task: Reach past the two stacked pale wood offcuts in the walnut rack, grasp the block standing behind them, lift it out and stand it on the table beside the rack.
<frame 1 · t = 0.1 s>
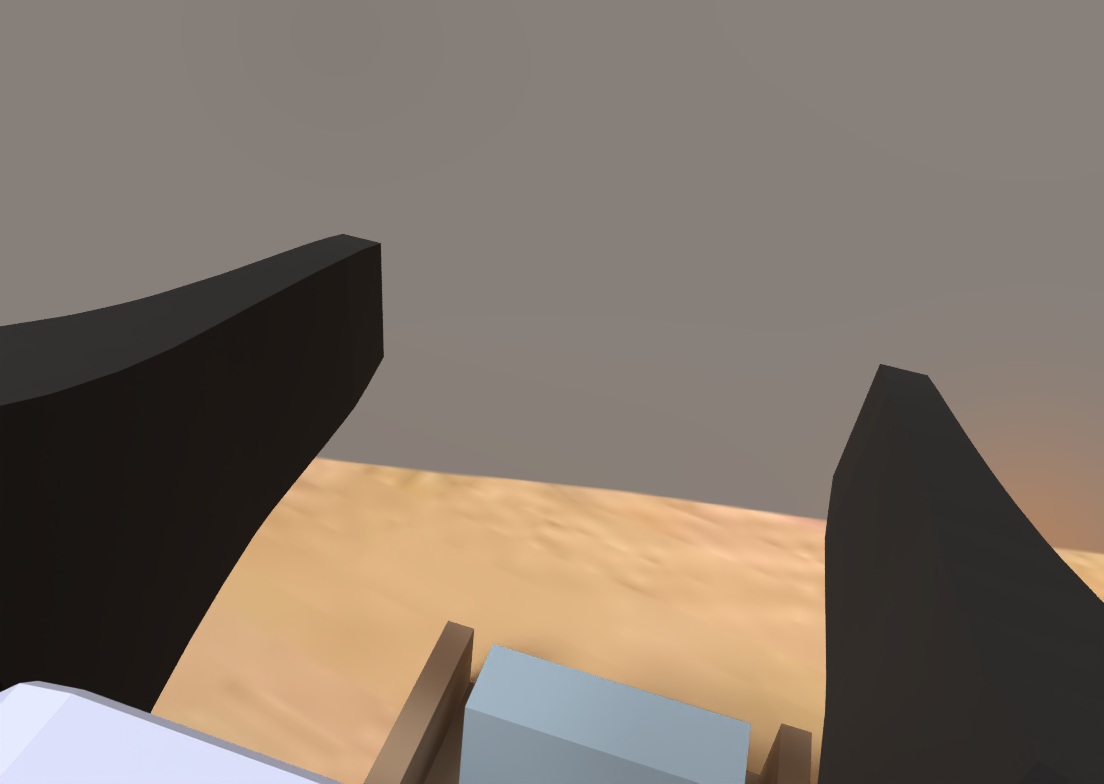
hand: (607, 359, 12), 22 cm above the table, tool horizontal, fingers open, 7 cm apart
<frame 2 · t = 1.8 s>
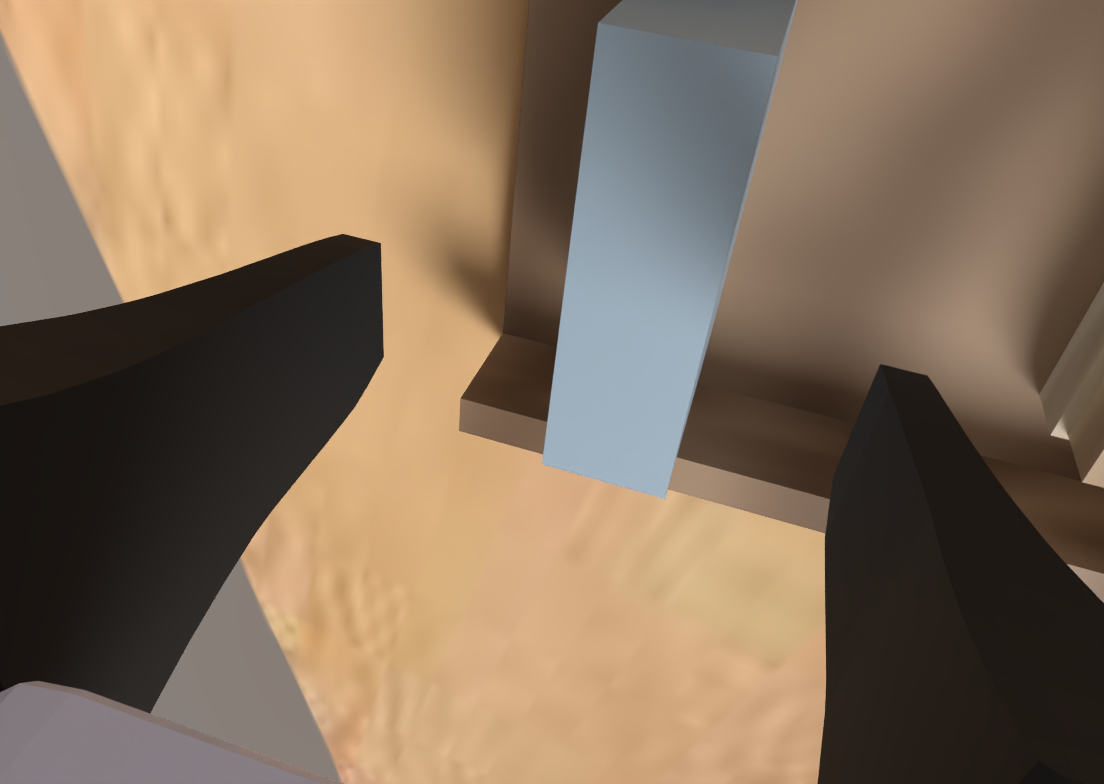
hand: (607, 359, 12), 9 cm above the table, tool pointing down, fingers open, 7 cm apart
block: (696, 165, 18), point 1 cm above the table, touching rack
rack: (934, 201, 18), on the table
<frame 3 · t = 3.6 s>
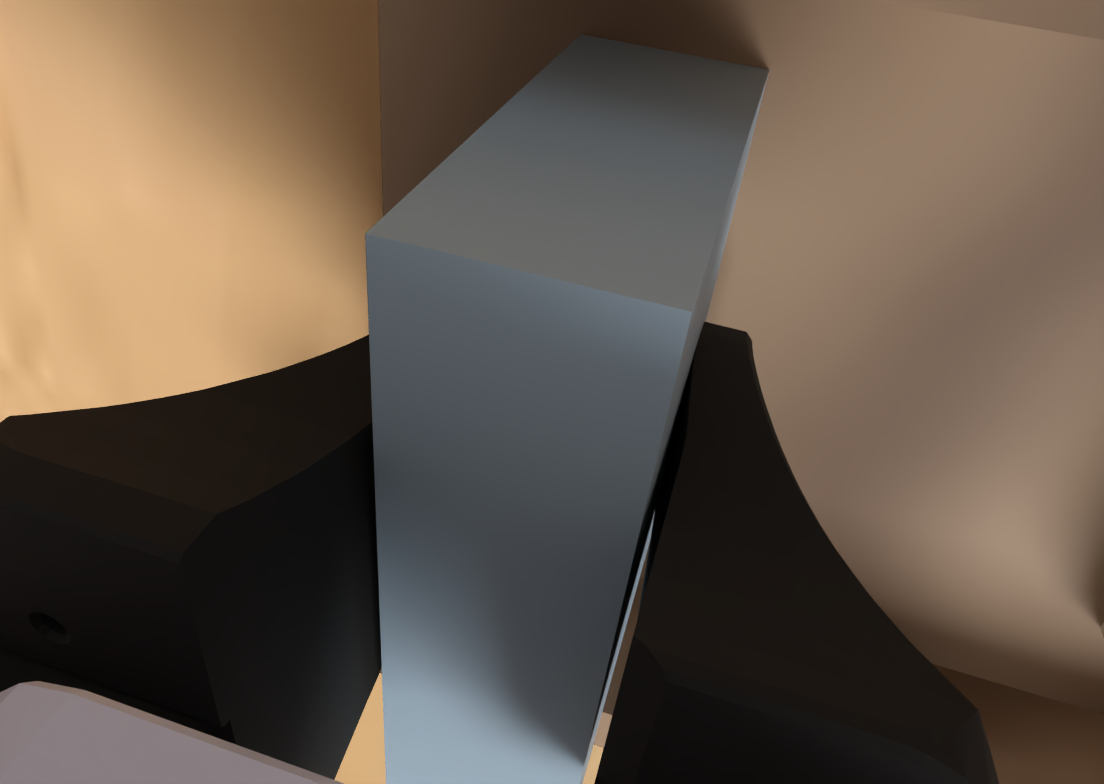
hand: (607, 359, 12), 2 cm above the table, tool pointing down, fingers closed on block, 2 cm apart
block: (624, 320, 13), point 1 cm above the table, touching gripper, rack
rack: (957, 373, 13), on the table
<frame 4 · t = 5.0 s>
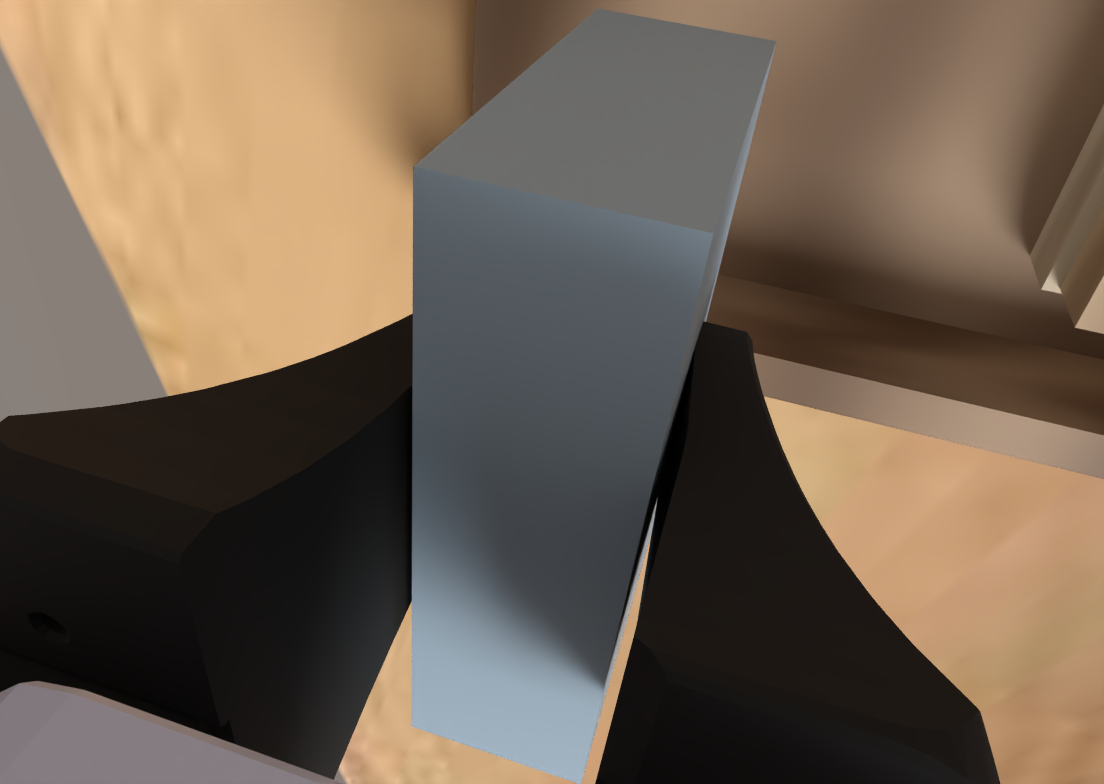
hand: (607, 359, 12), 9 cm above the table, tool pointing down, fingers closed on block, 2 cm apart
block: (636, 287, 14), point 7 cm above the table, touching gripper
rack: (914, 44, 17), on the table
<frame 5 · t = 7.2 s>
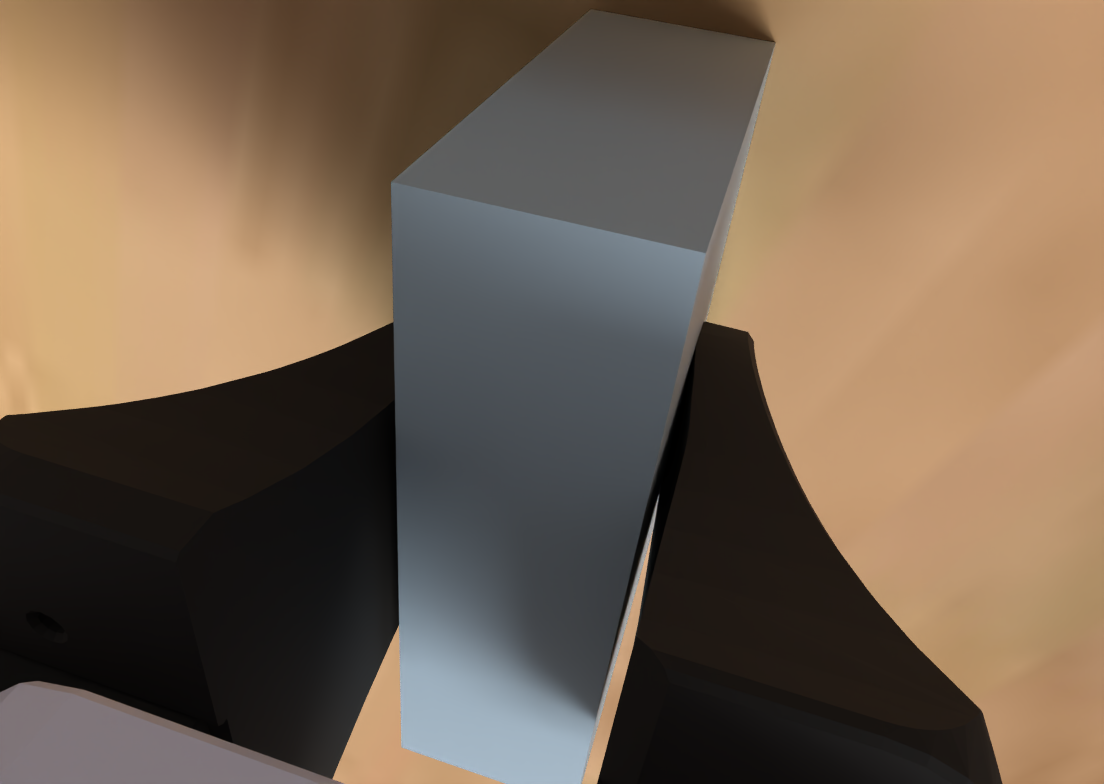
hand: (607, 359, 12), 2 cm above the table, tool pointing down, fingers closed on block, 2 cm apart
block: (632, 294, 13), on the table, touching gripper
when the fingers open (2 cm above the table, at t = 7.8 s): block stays where it is, on the table.
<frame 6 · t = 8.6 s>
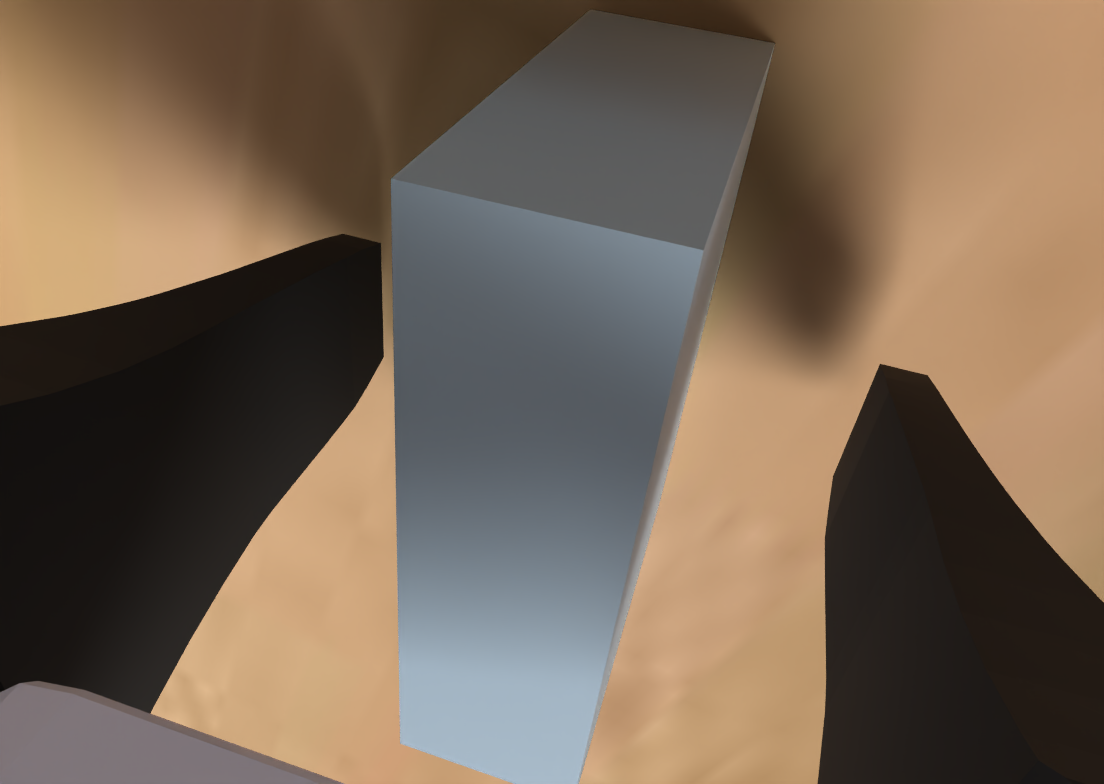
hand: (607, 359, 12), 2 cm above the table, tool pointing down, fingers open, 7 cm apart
block: (632, 293, 13), on the table
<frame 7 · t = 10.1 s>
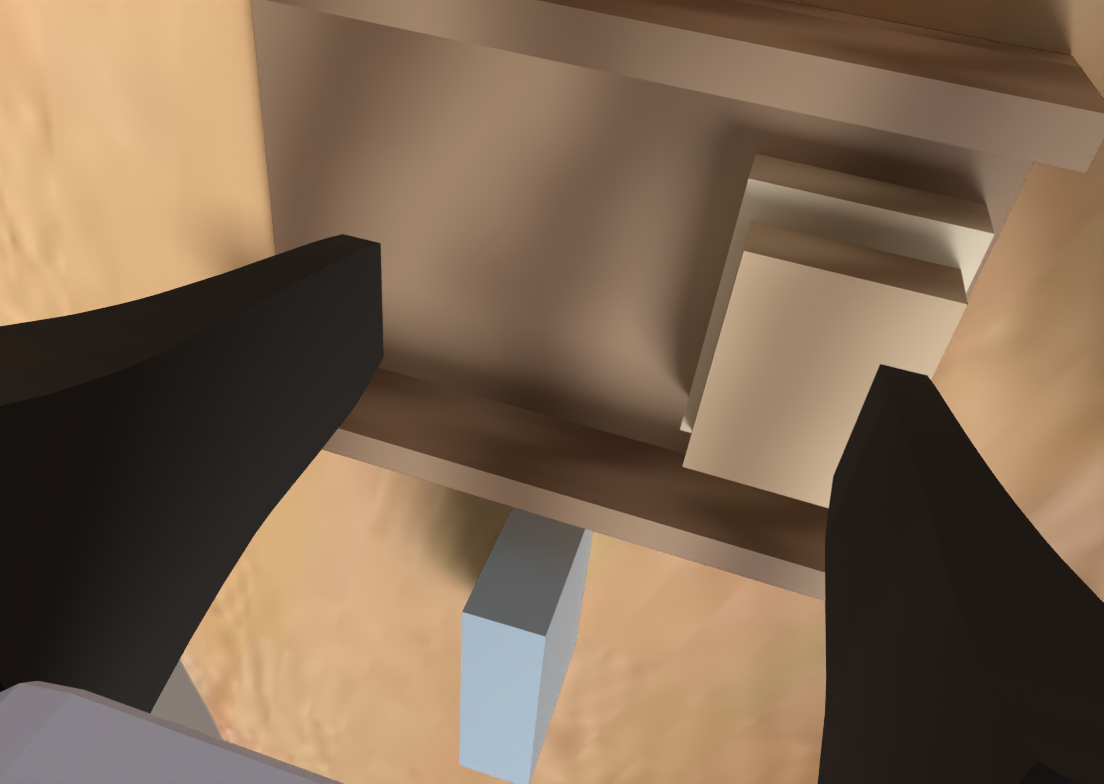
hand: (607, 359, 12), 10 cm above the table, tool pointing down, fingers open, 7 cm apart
block: (554, 563, 30), on the table
offcut low: (819, 312, 21), point 1 cm above the table, touching offcut top, rack
rack: (592, 241, 22), on the table
offcut top: (811, 358, 20), point 2 cm above the table, touching offcut low
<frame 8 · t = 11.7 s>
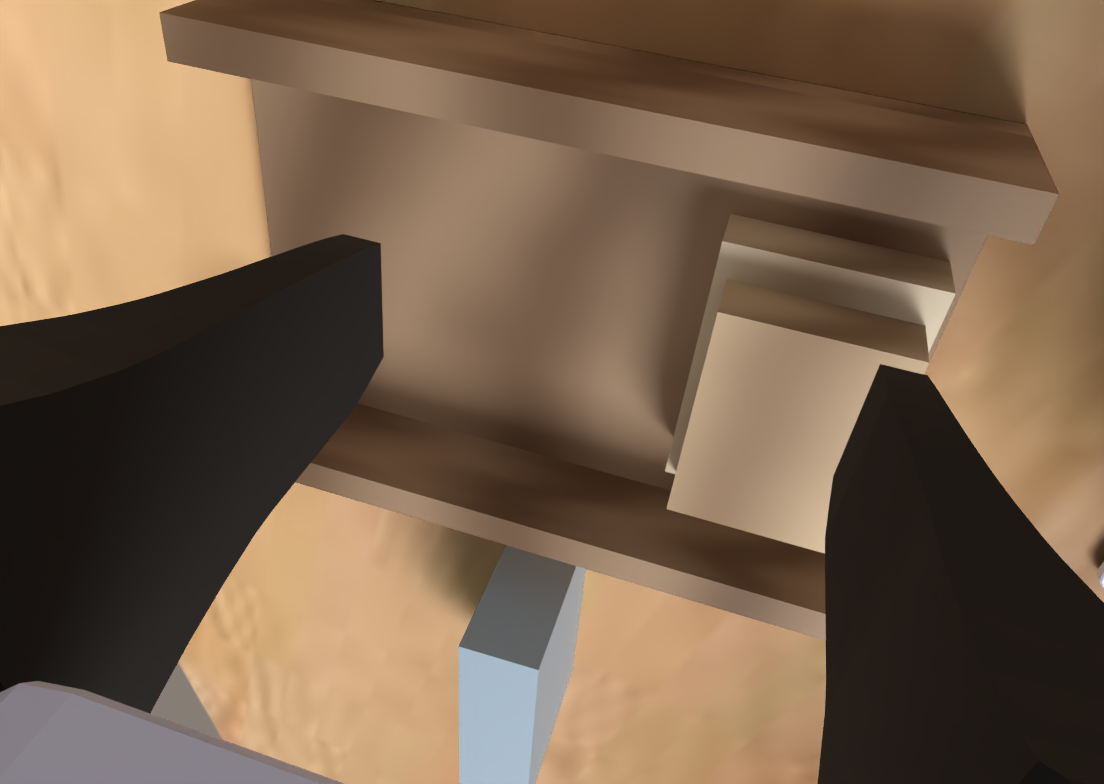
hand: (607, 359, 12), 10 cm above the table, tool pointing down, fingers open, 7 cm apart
block: (550, 591, 31), on the table
offcut low: (796, 360, 22), point 1 cm above the table, touching offcut top, rack
rack: (578, 290, 23), on the table
offcut top: (787, 406, 21), point 2 cm above the table, touching offcut low
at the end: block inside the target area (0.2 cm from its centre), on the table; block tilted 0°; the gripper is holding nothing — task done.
